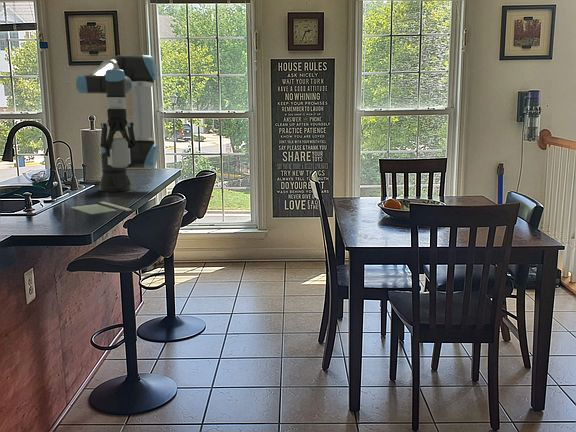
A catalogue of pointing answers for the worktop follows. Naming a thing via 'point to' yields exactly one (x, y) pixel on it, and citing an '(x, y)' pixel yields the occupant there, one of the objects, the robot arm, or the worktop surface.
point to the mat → (93, 209)
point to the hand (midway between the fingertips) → (119, 164)
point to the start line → (116, 206)
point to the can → (120, 152)
